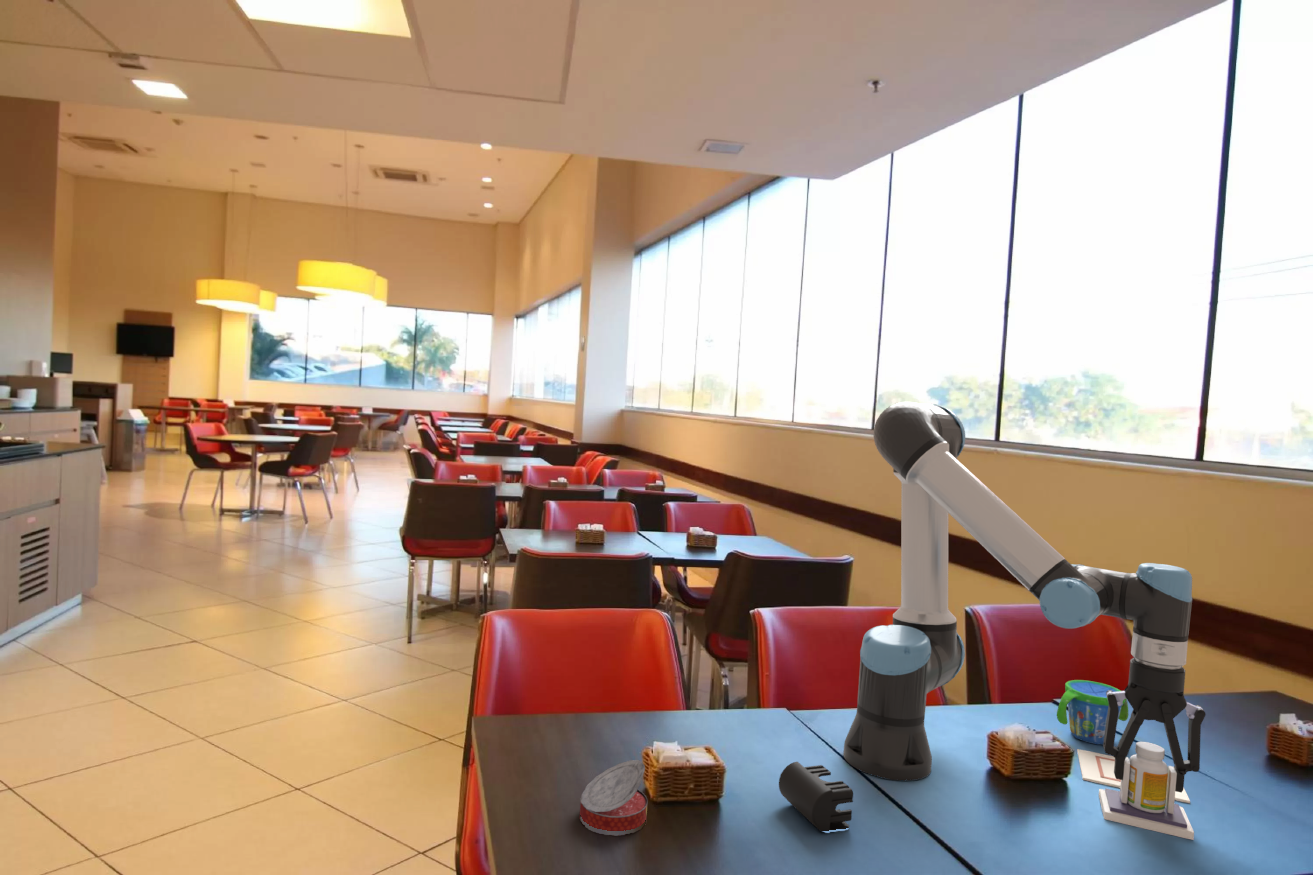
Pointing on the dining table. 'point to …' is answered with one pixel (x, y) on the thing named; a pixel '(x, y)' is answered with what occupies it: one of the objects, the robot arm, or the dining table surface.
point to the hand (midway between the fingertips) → (1145, 804)
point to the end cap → (816, 796)
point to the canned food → (615, 798)
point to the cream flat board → (1107, 771)
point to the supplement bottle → (1148, 778)
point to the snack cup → (1088, 709)
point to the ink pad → (1145, 816)
